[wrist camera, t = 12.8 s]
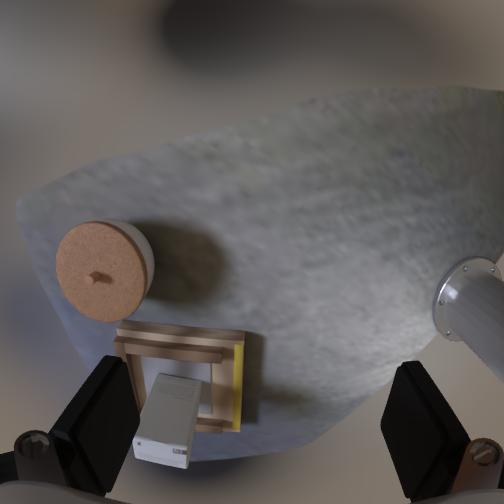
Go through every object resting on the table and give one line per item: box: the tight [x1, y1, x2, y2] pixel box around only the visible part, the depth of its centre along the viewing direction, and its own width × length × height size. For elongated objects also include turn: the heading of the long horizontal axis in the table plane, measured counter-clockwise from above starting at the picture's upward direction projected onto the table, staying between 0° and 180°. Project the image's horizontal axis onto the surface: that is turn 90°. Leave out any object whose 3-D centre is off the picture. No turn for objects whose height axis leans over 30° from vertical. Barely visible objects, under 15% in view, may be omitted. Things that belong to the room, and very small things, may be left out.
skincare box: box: [133, 373, 202, 469], centre depth 33 cm, size 6×4×12 cm
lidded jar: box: [56, 218, 155, 322], centre depth 33 cm, size 11×11×9 cm
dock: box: [113, 320, 245, 434], centre depth 40 cm, size 16×16×4 cm
